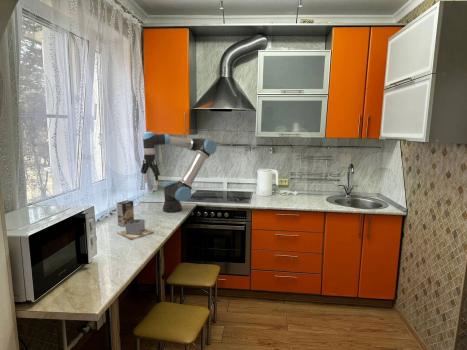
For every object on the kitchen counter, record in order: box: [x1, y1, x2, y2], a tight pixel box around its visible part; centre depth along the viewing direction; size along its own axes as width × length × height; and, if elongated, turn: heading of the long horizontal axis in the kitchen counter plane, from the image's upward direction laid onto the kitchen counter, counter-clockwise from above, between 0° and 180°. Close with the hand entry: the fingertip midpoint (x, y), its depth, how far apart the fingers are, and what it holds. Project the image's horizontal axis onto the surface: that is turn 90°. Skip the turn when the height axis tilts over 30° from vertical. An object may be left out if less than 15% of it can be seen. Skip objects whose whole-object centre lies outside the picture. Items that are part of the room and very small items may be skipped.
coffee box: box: [116, 200, 135, 228], centre depth 220 cm, size 9×6×16 cm
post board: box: [117, 221, 154, 241], centre depth 203 cm, size 16×16×8 cm
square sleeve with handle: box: [125, 218, 146, 235], centre depth 206 cm, size 14×9×7 cm, turn 177°
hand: (150, 183), depth 227 cm, fingers open, 13 cm apart
